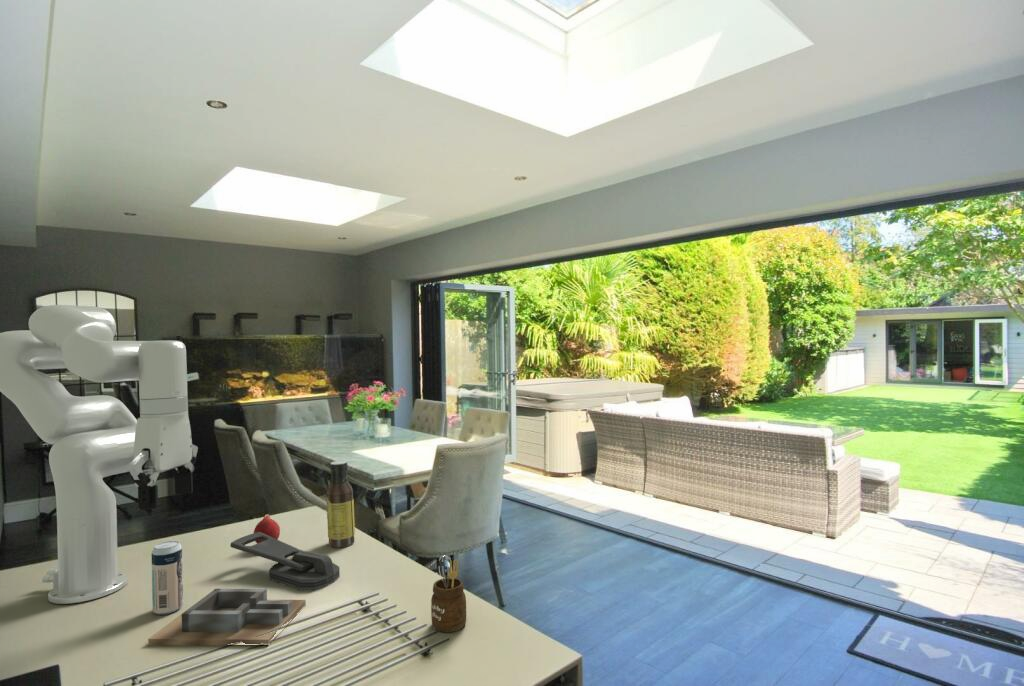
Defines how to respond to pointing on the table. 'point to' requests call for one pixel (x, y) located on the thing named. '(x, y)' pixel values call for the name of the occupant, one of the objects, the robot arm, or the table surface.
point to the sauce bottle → (340, 507)
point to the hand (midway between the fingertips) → (167, 500)
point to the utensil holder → (448, 602)
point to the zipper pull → (291, 562)
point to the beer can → (167, 577)
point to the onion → (267, 528)
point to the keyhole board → (229, 619)
